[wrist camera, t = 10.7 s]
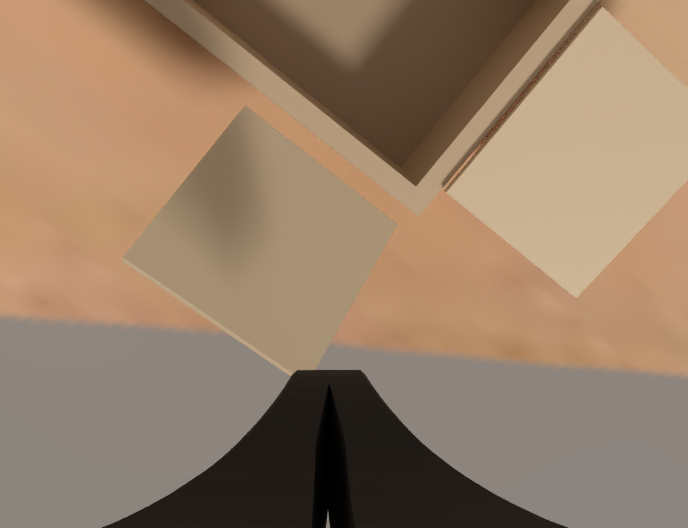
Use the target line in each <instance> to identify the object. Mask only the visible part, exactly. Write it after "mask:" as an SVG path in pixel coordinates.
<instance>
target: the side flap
mask: <svg viewBox="0 0 688 528" xmlns="http://www.w3.org/2000/svg"><path fill="white" fill-rule="evenodd" d="M396 226H397V223H396V222H394V221H393V220H392V219H391V218H389V217H388V216H387V215H385V214H384V213H383V212H382V211H380V210H379V209H378V208H376V207H375V206H374V205H373V204H371V203H370V202H369V201H367V200H366V199H365V198H364V197H362V196H361V195H360V194H359V193H357V192H356V191H355V190H353V189H352V188H351V187H350V186H348V185H347V184H346V183H344V182H343V181H342V180H341V179H339V178H338V177H337V176H335V175H334V174H333V173H332V172H330V171H329V170H328V169H326V168H325V167H324V166H323V165H321V164H320V163H319V162H317V161H316V160H315V159H314V158H312V157H311V156H310V155H309V154H307V153H306V152H305V151H303V150H302V149H301V148H300V147H298V146H297V145H296V144H294V143H293V142H292V141H291V140H289V139H288V138H287V137H285V136H284V135H283V134H282V133H280V132H279V131H278V130H276V129H275V128H274V127H273V126H271V125H270V124H269V123H267V122H266V121H265V120H264V119H262V118H261V117H260V116H258V115H257V114H256V113H255V112H253V111H252V110H251V109H250V108H248V107H247V106H246V105H245V106H244V107H243V109H242V110H241V111H240V112H239V114H238V115H237V116H236V117H235V119H234V120H233V121H232V122H231V124H230V125H229V126H228V127H227V129H226V130H225V131H224V132H223V134H222V135H221V136H220V137H219V139H218V140H217V141H216V142H215V144H214V145H213V146H212V147H211V149H210V150H209V151H208V152H207V154H206V155H205V156H204V157H203V158H202V160H201V161H200V162H199V163H198V165H197V166H196V167H195V168H194V170H193V171H192V172H191V173H190V175H189V176H188V177H187V178H186V180H185V181H184V182H183V183H182V185H181V186H180V187H179V188H178V190H177V191H176V192H175V193H174V195H173V196H172V197H171V198H170V200H169V201H168V202H167V203H166V205H165V206H164V207H163V208H162V210H161V211H160V212H159V213H158V215H157V216H156V217H155V218H154V220H153V221H152V222H151V223H150V224H149V226H148V227H147V228H146V229H145V231H144V232H143V233H142V234H141V236H140V237H139V238H138V239H137V241H136V242H135V243H134V244H133V246H132V247H131V248H130V249H129V251H128V252H127V253H126V254H125V256H124V257H123V259H122V261H123V262H124V263H125V264H127V265H128V266H130V267H131V268H133V269H134V270H136V271H137V272H139V273H140V274H142V275H143V276H144V277H146V278H147V279H149V280H150V281H152V282H153V283H155V284H156V285H158V286H159V287H161V288H162V289H164V290H165V291H166V292H168V293H169V294H171V295H172V296H174V297H175V298H177V299H178V300H180V301H181V302H183V303H184V304H185V305H187V306H188V307H190V308H191V309H193V310H194V311H196V312H197V313H199V314H200V315H202V316H203V317H205V318H206V319H207V320H209V321H210V322H212V323H213V324H215V325H216V326H218V327H219V328H221V329H222V330H224V331H225V332H226V333H228V334H229V335H231V336H232V337H234V338H235V339H237V340H238V341H240V342H241V343H243V344H244V345H246V346H247V347H248V348H250V349H251V350H253V351H254V352H256V353H257V354H259V355H260V356H262V357H263V358H265V359H266V360H267V361H269V362H270V363H272V364H273V365H275V366H276V367H278V368H279V369H281V370H282V371H284V372H285V373H287V374H288V375H289V376H291V375H292V374H293V373H295V372H296V371H297V370H315V369H316V367H317V365H318V363H319V362H320V360H321V358H322V356H323V355H324V353H325V351H326V349H327V348H328V346H329V344H330V342H331V340H332V339H333V337H334V335H335V333H336V332H337V330H338V328H339V326H340V325H341V323H342V321H343V319H344V318H345V316H346V314H347V312H348V311H349V309H350V307H351V305H352V303H353V302H354V300H355V298H356V296H357V295H358V293H359V291H360V289H361V288H362V286H363V284H364V282H365V281H366V279H367V277H368V275H369V273H370V272H371V270H372V268H373V266H374V265H375V263H376V261H377V259H378V258H379V256H380V254H381V252H382V251H383V249H384V247H385V245H386V243H387V242H388V240H389V238H390V236H391V235H392V233H393V231H394V229H395V228H396Z"/></svg>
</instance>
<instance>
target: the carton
mask: <svg viewBox="0 0 688 528" xmlns="http://www.w3.org/2000/svg"><path fill="white" fill-rule="evenodd" d="M145 1H146V2H147V3H149V4H150V5H151V6H152V7H154V8H155V9H156V10H157V11H159V12H160V13H161V14H163V15H164V16H165V17H166V18H168V19H169V20H170V21H171V22H173V23H174V24H175V25H176V26H178V27H179V28H180V29H182V30H183V31H184V32H185V33H187V34H188V35H189V36H190V37H192V38H193V39H194V40H195V41H197V42H198V43H199V44H201V45H202V46H203V47H204V48H206V49H207V50H208V51H209V52H211V53H212V54H213V55H214V56H216V57H217V58H218V59H219V60H221V61H222V62H223V63H225V64H226V65H227V66H228V67H230V68H231V69H232V70H233V71H235V72H236V73H237V74H238V75H240V76H241V77H242V78H244V79H245V80H246V81H247V82H249V83H250V84H251V85H252V86H254V87H255V88H256V89H257V90H259V91H260V92H261V93H263V94H264V95H265V96H266V97H268V98H269V99H270V100H271V101H273V102H274V103H275V104H276V105H278V106H279V107H280V108H282V109H283V110H284V111H285V112H287V113H288V114H289V115H290V116H292V117H293V118H294V119H295V120H297V121H298V122H299V123H300V124H302V125H303V126H304V127H306V128H307V129H308V130H309V131H311V132H312V133H313V134H314V135H316V136H317V137H318V138H319V139H321V140H322V141H323V142H325V143H326V144H327V145H328V146H330V147H331V148H332V149H333V150H335V151H336V152H337V153H338V154H340V155H341V156H342V157H344V158H345V159H346V160H347V161H349V162H350V163H351V164H352V165H354V166H355V167H356V168H357V169H359V170H360V171H361V172H363V173H364V174H365V175H366V176H368V177H369V178H370V179H371V180H373V181H374V182H375V183H376V184H378V185H379V186H380V187H381V188H383V189H384V190H385V191H387V192H388V193H389V194H390V195H392V196H393V197H394V198H395V199H397V200H398V201H399V202H400V203H402V204H403V205H404V206H406V207H407V208H408V209H409V210H411V211H412V212H413V213H414V214H416V215H417V216H418V217H419V215H420V214H421V213H422V212H423V211H424V209H425V208H426V207H427V206H428V205H429V204H430V202H431V201H432V200H433V199H434V198H435V196H436V195H437V194H438V193H439V192H440V190H441V189H442V188H443V187H444V186H445V184H446V183H447V182H448V181H449V180H450V178H451V177H452V176H453V175H454V174H455V172H456V171H457V170H458V169H459V168H460V166H461V165H462V164H463V163H464V162H465V161H466V159H467V158H468V157H469V156H470V155H471V153H472V152H473V151H474V150H475V149H476V147H477V146H478V145H479V144H480V143H481V141H482V140H483V139H484V138H485V137H486V135H487V134H488V133H489V132H490V131H491V129H492V128H493V127H494V126H495V125H496V123H497V122H498V121H499V120H500V119H501V117H502V116H503V115H504V114H505V113H506V112H507V110H508V109H509V108H510V107H511V106H512V104H513V103H514V102H515V101H516V100H517V98H518V97H519V96H520V95H521V94H522V92H523V91H524V90H525V89H526V88H527V86H528V85H529V84H530V83H531V82H532V80H533V79H534V78H535V77H536V76H537V74H538V73H539V72H540V71H541V70H542V69H543V67H544V66H545V65H546V64H547V63H548V61H549V60H550V59H551V58H552V57H553V55H554V54H555V53H556V52H557V51H558V49H559V48H560V47H561V46H562V45H563V43H564V42H565V41H566V40H567V39H568V37H569V36H570V35H571V34H572V33H573V31H574V30H575V29H576V28H577V27H578V25H579V24H580V23H581V22H582V21H583V20H584V18H585V17H586V16H587V15H588V14H589V12H590V11H591V10H592V9H593V8H594V6H595V5H596V4H597V3H598V2H599V0H145ZM687 180H688V88H687V87H686V86H685V85H684V84H683V83H682V82H681V81H680V80H679V79H678V78H677V77H675V76H674V75H673V74H672V73H671V72H670V71H669V70H668V69H667V68H666V67H665V66H664V65H663V64H662V63H661V62H660V61H659V60H658V59H657V58H656V57H655V56H654V55H653V54H651V53H650V52H649V51H648V50H647V49H646V48H645V47H644V46H643V45H642V44H641V43H640V42H639V41H638V40H637V39H636V38H635V37H634V36H633V35H632V34H631V33H630V32H628V31H627V30H626V29H625V28H624V27H623V26H622V25H621V24H620V23H619V22H618V21H617V20H616V19H615V18H614V17H613V16H612V15H611V14H610V13H609V12H608V11H607V10H606V9H604V8H603V7H599V8H597V9H596V10H595V11H594V13H593V14H592V15H591V16H590V17H589V19H588V20H587V21H586V22H585V23H584V25H583V26H582V27H581V28H580V29H579V31H578V32H577V33H576V34H575V35H574V37H573V38H572V39H571V40H570V41H569V42H568V44H567V45H566V46H565V47H564V48H563V50H562V51H561V52H560V53H559V54H558V56H557V57H556V58H555V59H554V60H553V62H552V63H551V64H550V65H549V66H548V68H547V69H546V70H545V71H544V72H543V73H542V75H541V76H540V77H539V78H538V79H537V81H536V82H535V83H534V84H533V85H532V87H531V88H530V89H529V90H528V91H527V93H526V94H525V95H524V96H523V97H522V99H521V100H520V101H519V102H518V103H517V104H516V106H515V107H514V108H513V109H512V110H511V112H510V113H509V114H508V115H507V116H506V118H505V119H504V120H503V121H502V122H501V124H500V125H499V126H498V127H497V128H496V130H495V131H494V132H493V133H492V134H491V135H490V137H489V138H488V139H487V140H486V141H485V143H484V144H483V145H482V146H481V147H480V149H479V150H478V151H477V152H476V153H475V155H474V156H473V157H472V158H471V159H470V161H469V162H468V163H467V164H466V165H465V166H464V168H463V169H462V170H461V171H460V172H459V174H458V175H457V176H456V177H455V178H454V180H453V181H452V182H451V183H450V184H449V186H448V187H447V188H446V189H445V190H444V191H445V192H446V193H447V194H449V195H450V196H451V197H452V198H453V199H455V200H456V201H457V202H458V203H460V204H461V205H462V206H463V207H465V208H466V209H467V210H468V211H470V212H471V213H472V214H473V215H474V216H476V217H477V218H478V219H479V220H481V221H482V222H483V223H484V224H486V225H487V226H488V227H489V228H490V229H492V230H493V231H494V232H495V233H497V234H498V235H499V236H500V237H502V238H503V239H504V240H505V241H507V242H508V243H509V244H510V245H511V246H513V247H514V248H515V249H516V250H518V251H519V252H520V253H521V254H523V255H524V256H525V257H526V258H528V259H529V260H530V261H531V262H532V263H534V264H535V265H536V266H537V267H539V268H540V269H541V270H542V271H544V272H545V273H546V274H547V275H548V276H550V277H551V278H552V279H553V280H555V281H556V282H557V283H558V284H560V285H561V286H562V287H563V288H565V289H566V290H567V291H568V292H569V293H571V294H572V295H573V296H574V297H576V298H577V297H578V296H579V295H580V294H581V292H582V291H583V290H584V289H585V288H586V287H587V286H588V285H589V284H590V283H591V282H592V281H593V280H594V279H595V278H596V277H597V276H598V274H599V273H600V272H601V271H602V270H603V269H604V268H605V267H606V266H607V265H608V264H609V263H610V262H611V261H612V260H613V259H614V257H615V256H616V255H617V254H618V253H619V252H620V251H621V250H622V249H623V248H624V247H625V246H626V245H627V244H628V243H629V242H630V241H631V239H632V238H633V237H634V236H635V235H636V234H637V233H638V232H639V231H640V230H641V229H642V228H643V227H644V226H645V225H646V224H647V222H648V221H649V220H650V219H651V218H652V217H653V216H654V215H655V214H656V213H657V212H658V211H659V210H660V209H661V208H662V207H663V205H664V204H665V203H666V202H667V201H668V200H669V199H670V198H671V197H672V196H673V195H674V194H675V193H676V192H677V191H678V190H679V189H680V187H681V186H682V185H683V184H684V183H685V182H686V181H687Z"/></svg>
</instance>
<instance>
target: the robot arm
mask: <svg viewBox="0 0 688 528" xmlns="http://www.w3.org/2000/svg"><path fill="white" fill-rule="evenodd" d="M328 512H329V522H330V528H568V527H565V526H562V525H560V524H557V523H554V522H551V521H549V520H546V519H544V518H541V517H540V516H538V515H535V514H533V513H531V512H529V511H527V510H525V509H523V508H521V507H518V506H516V505H514V504H512V503H510V502H508V501H507V500H505V499H503V498H501V497H499V496H497V495H495V494H493V493H492V492H490V491H488V490H487V489H485V488H483V487H481V486H480V485H479V484H477V483H475V482H474V481H472V480H470V479H469V478H467V477H465V476H464V475H463V474H461V473H460V472H458V471H457V470H455V469H454V468H453V467H451V466H450V465H448V464H447V463H446V462H445V461H443V460H442V459H441V458H440V457H438V456H437V455H436V454H434V453H433V452H432V451H431V450H430V449H428V448H427V447H426V446H425V445H424V444H422V443H421V442H420V441H419V440H418V439H417V438H416V437H415V436H414V435H413V434H412V433H411V432H410V431H409V430H408V429H407V428H406V426H405V425H404V424H403V423H402V422H401V421H400V420H399V419H398V417H397V416H396V415H395V414H394V413H393V412H392V411H391V409H390V408H389V407H388V406H387V405H386V403H385V402H384V401H383V399H382V398H381V397H380V396H379V394H378V393H377V392H376V390H375V389H374V387H373V386H372V384H371V383H370V381H369V380H368V378H367V377H366V375H365V374H364V373H363V372H362V371H361V370H297V371H296V372H295V373H293V374H292V375H291V377H290V379H289V381H288V382H287V384H286V386H285V387H284V389H283V390H282V392H281V393H280V394H279V396H278V397H277V398H276V400H275V401H274V403H273V404H272V405H271V406H270V407H269V409H268V410H267V411H266V412H265V414H264V415H263V416H262V418H261V419H260V420H259V421H258V422H257V423H256V424H255V425H254V426H253V428H252V429H251V430H250V431H249V432H248V433H247V434H246V435H245V436H244V437H243V438H242V439H241V440H240V441H239V442H238V443H237V444H236V445H235V446H234V447H233V448H232V449H231V450H230V451H229V452H228V453H227V454H226V455H224V456H223V457H222V458H221V459H220V460H219V461H217V462H216V463H215V464H214V465H213V466H211V467H210V468H208V469H207V470H206V471H204V472H203V473H201V474H200V475H198V476H197V477H195V478H194V479H192V480H191V481H189V482H188V483H186V484H185V485H183V486H182V487H180V488H179V489H177V490H176V491H174V492H173V493H171V494H170V495H168V496H166V497H164V498H162V499H160V500H159V501H157V502H155V503H153V504H152V505H150V506H148V507H146V508H144V509H142V510H140V511H138V512H136V513H134V514H132V515H130V516H128V517H126V518H123V519H121V520H119V521H117V522H115V523H113V524H110V525H108V526H105V527H102V528H326V522H327V513H328Z"/></svg>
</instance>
